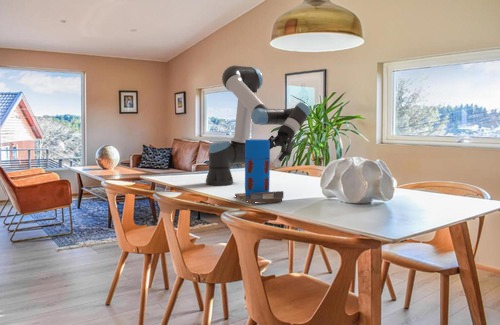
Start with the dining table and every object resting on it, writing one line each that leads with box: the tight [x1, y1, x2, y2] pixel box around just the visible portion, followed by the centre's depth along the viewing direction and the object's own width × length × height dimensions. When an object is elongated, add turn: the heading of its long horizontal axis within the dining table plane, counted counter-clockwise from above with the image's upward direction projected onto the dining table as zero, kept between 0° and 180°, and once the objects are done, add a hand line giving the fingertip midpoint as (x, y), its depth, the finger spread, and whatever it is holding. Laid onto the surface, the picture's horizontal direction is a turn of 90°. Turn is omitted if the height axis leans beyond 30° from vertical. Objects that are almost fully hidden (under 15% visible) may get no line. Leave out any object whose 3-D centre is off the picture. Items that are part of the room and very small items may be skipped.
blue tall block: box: [244, 138, 271, 198], centre depth 194 cm, size 11×11×25 cm
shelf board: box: [234, 190, 284, 204], centre depth 195 cm, size 19×15×4 cm
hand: (263, 164), depth 196 cm, fingers open, 13 cm apart
